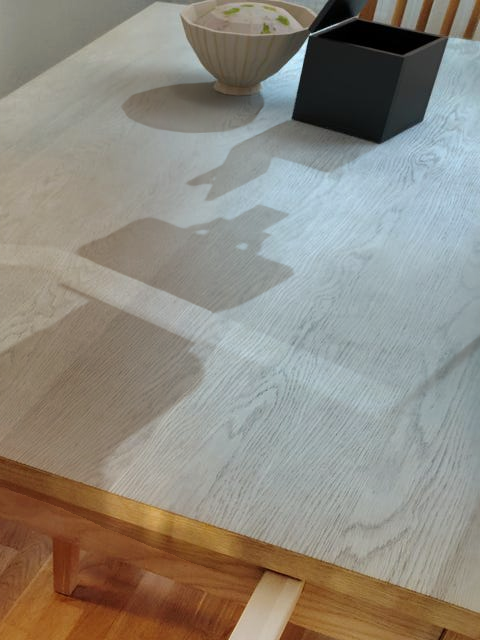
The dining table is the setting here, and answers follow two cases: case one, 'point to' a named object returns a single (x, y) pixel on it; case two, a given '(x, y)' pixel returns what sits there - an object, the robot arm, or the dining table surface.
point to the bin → (368, 78)
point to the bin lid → (336, 13)
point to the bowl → (245, 39)
